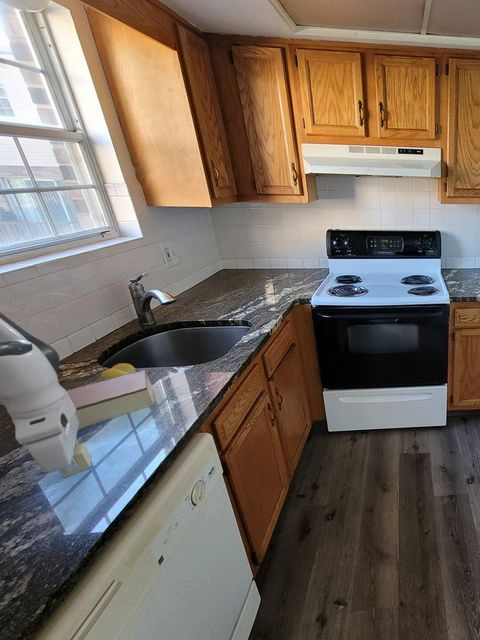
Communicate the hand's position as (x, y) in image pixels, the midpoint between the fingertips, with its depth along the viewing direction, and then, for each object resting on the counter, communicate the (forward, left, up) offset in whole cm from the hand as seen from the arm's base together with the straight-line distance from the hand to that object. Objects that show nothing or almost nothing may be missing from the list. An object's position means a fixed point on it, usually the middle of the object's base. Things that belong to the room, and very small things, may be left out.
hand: (75, 461), depth 84 cm
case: (-14, +23, -2) cm, 27 cm away
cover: (-14, +23, +4) cm, 27 cm away
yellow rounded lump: (-29, +39, -2) cm, 49 cm away
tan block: (0, 0, -2) cm, 2 cm away
